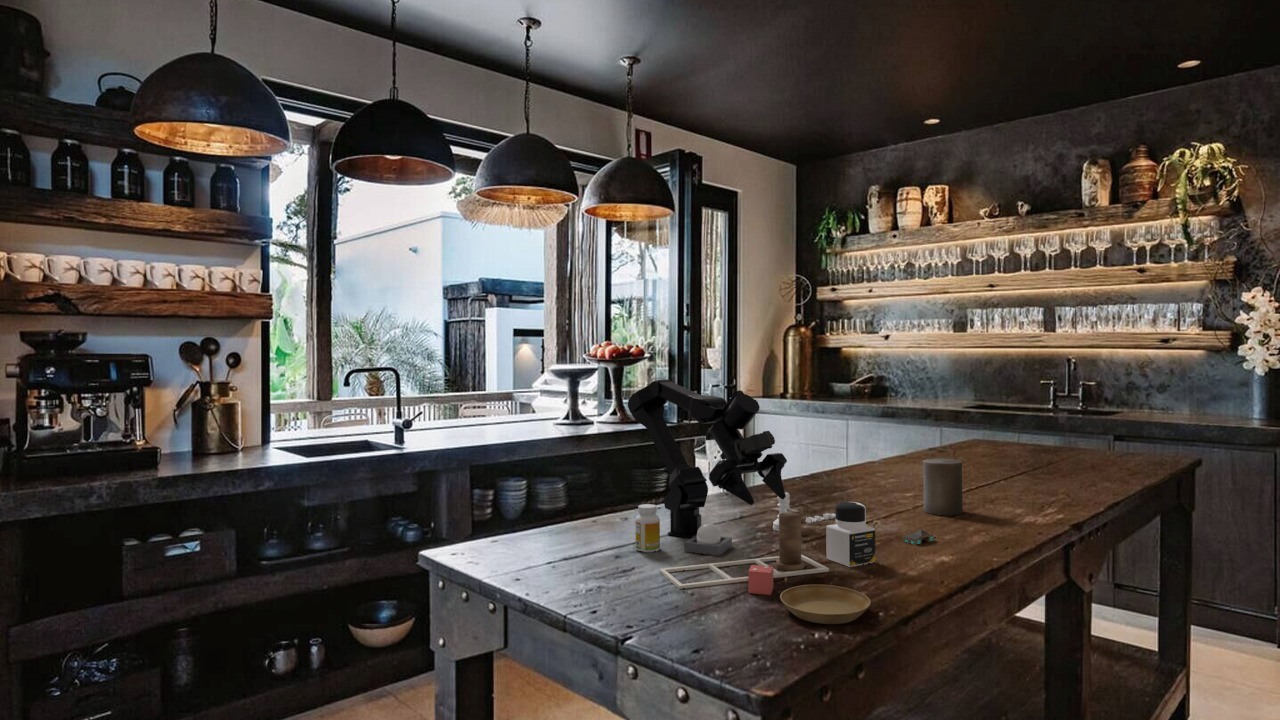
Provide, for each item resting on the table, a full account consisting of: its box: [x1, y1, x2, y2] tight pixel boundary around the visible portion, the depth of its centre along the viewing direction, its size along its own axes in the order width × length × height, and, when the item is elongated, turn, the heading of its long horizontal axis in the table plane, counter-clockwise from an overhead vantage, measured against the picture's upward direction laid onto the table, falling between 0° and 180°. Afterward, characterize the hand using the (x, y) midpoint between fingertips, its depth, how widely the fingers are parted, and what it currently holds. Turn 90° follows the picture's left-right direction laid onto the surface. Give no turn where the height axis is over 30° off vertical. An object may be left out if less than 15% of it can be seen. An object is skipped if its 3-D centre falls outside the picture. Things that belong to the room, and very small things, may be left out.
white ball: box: [697, 522, 721, 545], centre depth 165 cm, size 5×5×5 cm
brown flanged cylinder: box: [776, 513, 805, 572], centre depth 152 cm, size 6×6×10 cm
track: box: [658, 553, 830, 590], centre depth 149 cm, size 32×11×1 cm, turn 108°
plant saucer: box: [779, 584, 871, 625], centre depth 126 cm, size 15×15×3 cm
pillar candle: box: [922, 455, 964, 517], centre depth 199 cm, size 10×10×15 cm
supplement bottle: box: [635, 503, 661, 553], centre depth 165 cm, size 5×5×10 cm
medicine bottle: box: [825, 501, 876, 568], centre depth 155 cm, size 7×7×12 cm
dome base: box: [684, 535, 733, 557], centre depth 165 cm, size 8×8×2 cm
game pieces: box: [771, 492, 936, 546], centre depth 187 cm, size 45×13×6 cm, turn 35°
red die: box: [747, 564, 774, 596], centre depth 137 cm, size 4×4×4 cm
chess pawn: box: [772, 492, 790, 532], centre depth 182 cm, size 5×5×9 cm
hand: (768, 501), depth 156 cm, fingers open, 9 cm apart
